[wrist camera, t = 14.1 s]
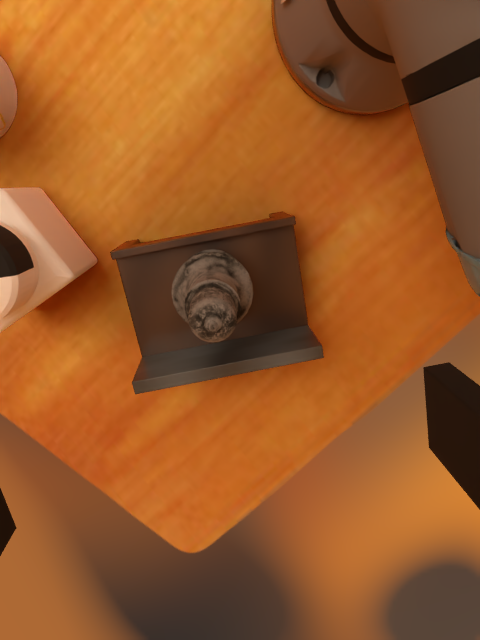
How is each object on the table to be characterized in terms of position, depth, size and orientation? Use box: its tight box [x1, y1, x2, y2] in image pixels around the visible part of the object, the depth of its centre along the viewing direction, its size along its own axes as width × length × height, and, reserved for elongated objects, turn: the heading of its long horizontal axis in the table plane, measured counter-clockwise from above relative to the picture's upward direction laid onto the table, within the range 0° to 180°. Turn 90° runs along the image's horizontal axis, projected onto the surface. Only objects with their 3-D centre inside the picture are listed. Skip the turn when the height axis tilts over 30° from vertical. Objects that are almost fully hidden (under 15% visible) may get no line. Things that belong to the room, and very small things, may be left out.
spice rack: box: [110, 212, 324, 394], centre depth 37 cm, size 14×10×10 cm
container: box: [0, 187, 97, 333], centre depth 33 cm, size 8×8×13 cm
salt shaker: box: [171, 249, 253, 342], centre depth 31 cm, size 6×6×12 cm
